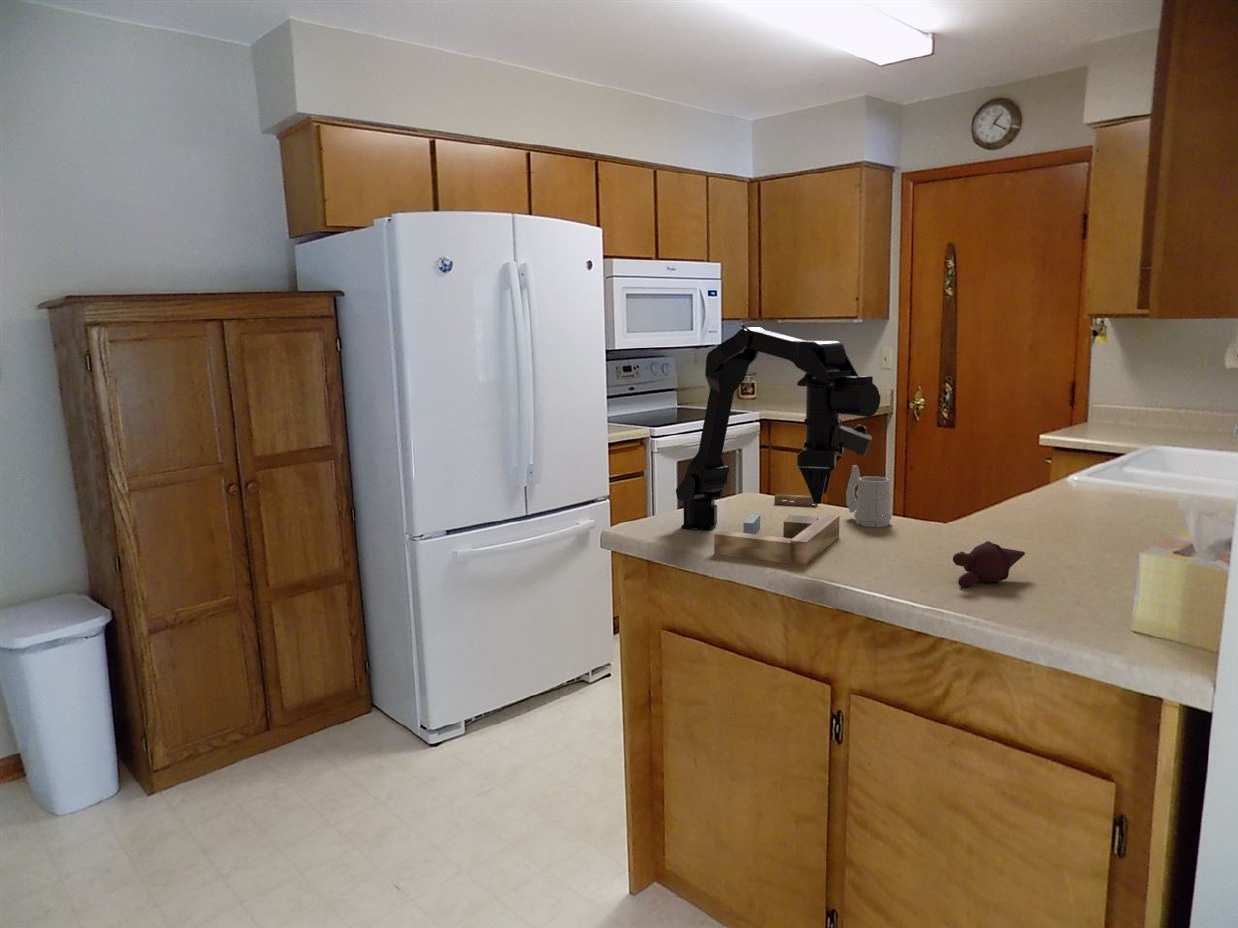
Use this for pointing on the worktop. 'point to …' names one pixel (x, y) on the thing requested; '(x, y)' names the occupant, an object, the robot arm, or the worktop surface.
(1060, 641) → the worktop surface
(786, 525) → the block
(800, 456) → the robot arm
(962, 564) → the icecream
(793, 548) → the wooden l-shaped bracket
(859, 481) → the mug
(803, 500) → the dowel
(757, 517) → the stop batten
